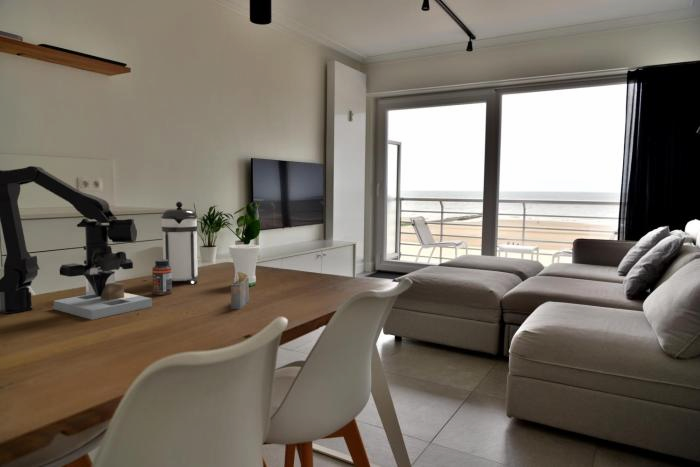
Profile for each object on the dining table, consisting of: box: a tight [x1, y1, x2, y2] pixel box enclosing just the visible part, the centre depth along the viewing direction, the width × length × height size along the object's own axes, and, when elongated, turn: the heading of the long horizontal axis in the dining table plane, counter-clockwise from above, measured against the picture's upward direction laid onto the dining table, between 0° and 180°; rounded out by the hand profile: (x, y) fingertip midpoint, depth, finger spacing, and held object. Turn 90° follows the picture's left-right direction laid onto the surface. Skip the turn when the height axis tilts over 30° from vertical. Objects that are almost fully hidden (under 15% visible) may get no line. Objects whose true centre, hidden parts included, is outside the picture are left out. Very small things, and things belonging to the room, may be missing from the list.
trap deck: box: [53, 292, 153, 321], centre depth 144 cm, size 18×20×2 cm
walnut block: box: [100, 282, 125, 300], centre depth 146 cm, size 5×5×4 cm
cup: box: [228, 244, 261, 287], centre depth 180 cm, size 11×11×14 cm
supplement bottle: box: [151, 258, 173, 296], centre depth 163 cm, size 6×6×11 cm
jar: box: [85, 264, 116, 295], centre depth 160 cm, size 9×8×12 cm
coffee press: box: [160, 201, 198, 285], centre depth 184 cm, size 17×16×30 cm
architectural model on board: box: [230, 272, 250, 310], centre depth 149 cm, size 11×3×10 cm, turn 178°
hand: (98, 296), depth 142 cm, fingers closed
